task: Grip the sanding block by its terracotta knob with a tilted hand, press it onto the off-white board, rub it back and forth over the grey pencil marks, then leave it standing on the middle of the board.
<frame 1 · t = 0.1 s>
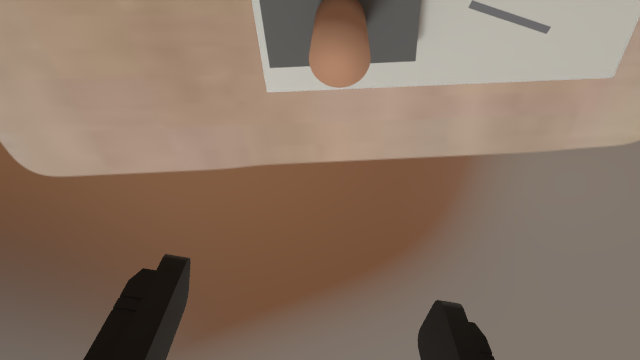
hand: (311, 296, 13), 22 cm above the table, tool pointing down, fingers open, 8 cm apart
sanding block: (340, 8, 27), point 1 cm above the table, touching marked board
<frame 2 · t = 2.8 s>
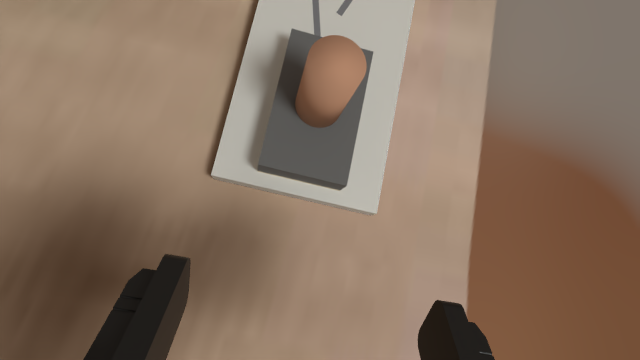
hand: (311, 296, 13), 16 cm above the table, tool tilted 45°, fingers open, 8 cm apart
marked board: (328, 42, 32), on the table
sanding block: (313, 116, 29), point 1 cm above the table, touching marked board
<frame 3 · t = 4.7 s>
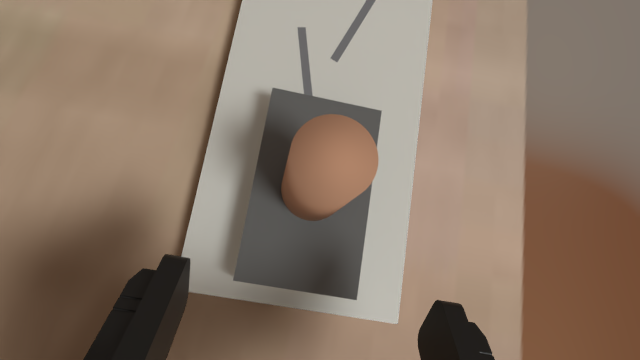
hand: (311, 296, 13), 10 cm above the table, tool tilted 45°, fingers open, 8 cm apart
marked board: (323, 94, 25), on the table
sanding block: (307, 197, 22), point 1 cm above the table, touching marked board
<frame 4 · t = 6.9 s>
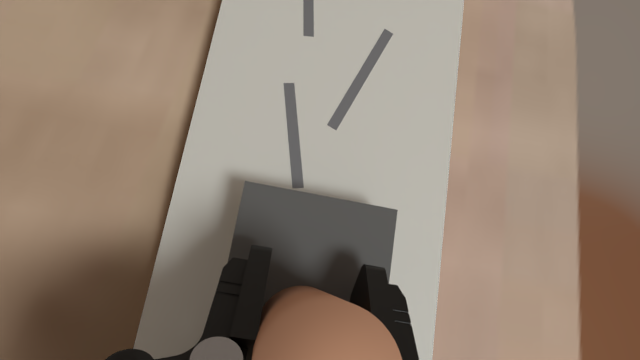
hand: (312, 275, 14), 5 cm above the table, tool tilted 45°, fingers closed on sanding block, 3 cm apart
marked board: (317, 169, 19), on the table
sanding block: (295, 323, 16), point 1 cm above the table, touching gripper, marked board
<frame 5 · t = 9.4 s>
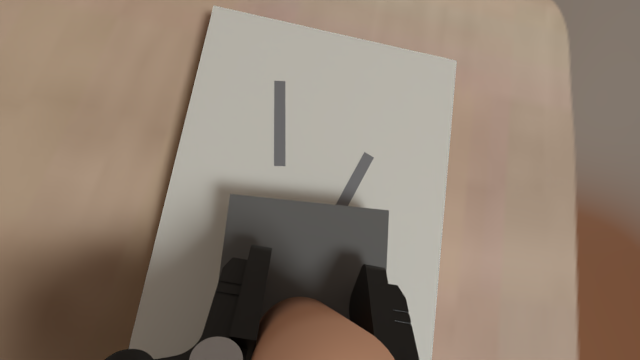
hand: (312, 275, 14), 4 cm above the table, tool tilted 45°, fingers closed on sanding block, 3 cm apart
marked board: (291, 310, 18), on the table
sanding block: (293, 333, 16), point 2 cm above the table, touching gripper, marked board
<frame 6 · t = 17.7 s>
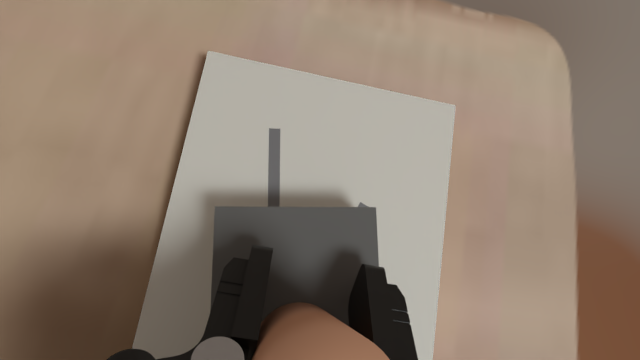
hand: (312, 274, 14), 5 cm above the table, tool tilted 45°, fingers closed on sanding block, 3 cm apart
sanding block: (293, 339, 16), point 2 cm above the table, touching gripper
when the fingers open (5 cm above the table, at t = 17.9 s): sanding block stays where it is, resting on marked board.
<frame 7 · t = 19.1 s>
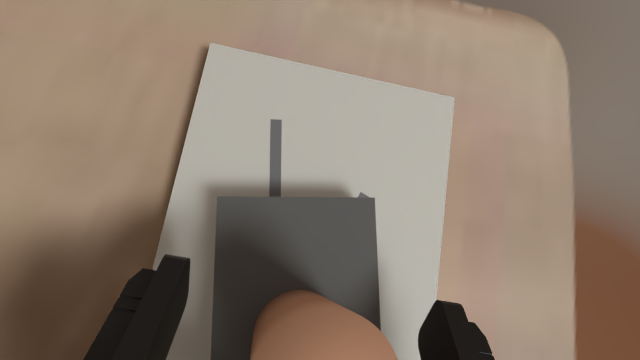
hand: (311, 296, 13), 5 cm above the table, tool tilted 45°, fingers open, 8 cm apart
marked board: (285, 352, 17), on the table
sanding block: (293, 326, 16), point 2 cm above the table, touching marked board
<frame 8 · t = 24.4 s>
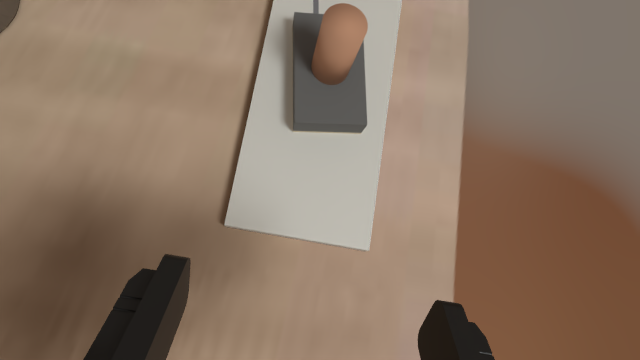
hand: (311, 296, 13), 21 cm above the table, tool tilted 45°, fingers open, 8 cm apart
marked board: (320, 99, 37), on the table
sanding block: (325, 79, 35), point 2 cm above the table, touching marked board
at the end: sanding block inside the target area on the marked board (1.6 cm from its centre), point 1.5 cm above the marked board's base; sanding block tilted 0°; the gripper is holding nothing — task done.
